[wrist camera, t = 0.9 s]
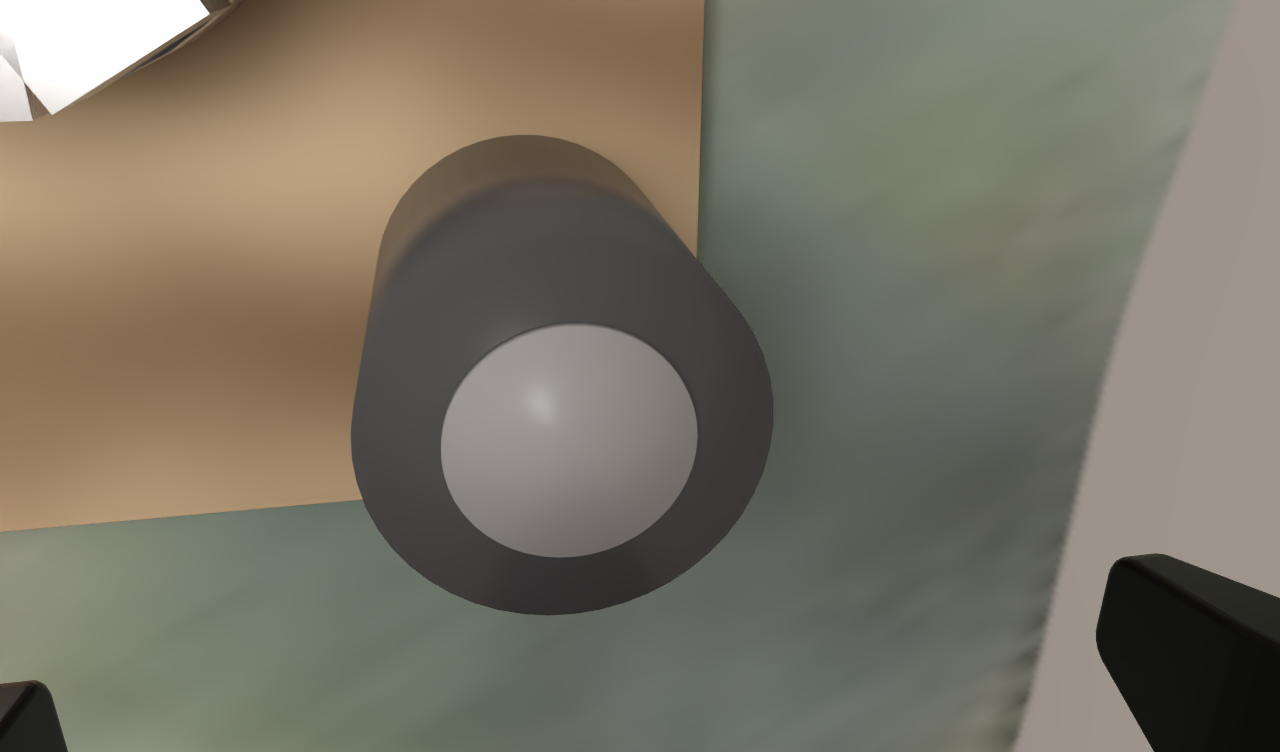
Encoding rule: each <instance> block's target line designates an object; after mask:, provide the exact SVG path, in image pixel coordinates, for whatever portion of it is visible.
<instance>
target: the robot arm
mask: <svg viewBox="0 0 1280 752" xmlns="http://www.w3.org/2000/svg"><path fill="white" fill-rule="evenodd" d="M1096 642H1097V647H1098V651H1099V654H1100V656H1101V659H1102V661H1103V663H1104V664H1105V666H1106V668H1107V670H1108V672H1109V673H1110V675H1111V677H1112V679H1113V680H1114V682H1115V684H1116V685H1117V687H1118V689H1119V691H1120V693H1121V694H1122V696H1123V698H1124V700H1125V701H1126V703H1127V705H1128V707H1129V708H1130V710H1131V712H1132V714H1133V715H1134V717H1135V719H1136V721H1137V723H1138V724H1139V726H1140V728H1141V729H1142V731H1143V733H1144V735H1145V737H1146V738H1147V740H1148V742H1149V744H1150V745H1151V747H1152V749H1153V751H1154V752H1280V598H1278V597H1276V596H1273V595H1270V594H1268V593H1265V592H1263V591H1260V590H1257V589H1254V588H1252V587H1249V586H1247V585H1244V584H1241V583H1239V582H1236V581H1233V580H1231V579H1228V578H1226V577H1223V576H1220V575H1218V574H1215V573H1212V572H1210V571H1207V570H1204V569H1202V568H1199V567H1197V566H1194V565H1191V564H1189V563H1186V562H1184V561H1181V560H1178V559H1175V558H1173V557H1170V556H1168V555H1164V554H1147V555H1138V556H1129V557H1123V558H1121V559H1119V560H1117V561H1116V562H1115V563H1114V564H1113V566H1112V567H1111V569H1110V572H1109V575H1108V580H1107V584H1106V588H1105V593H1104V597H1103V602H1102V606H1101V611H1100V615H1099V619H1098V623H1097V629H1096ZM0 752H68V750H67V746H66V743H65V740H64V736H63V733H62V729H61V726H60V722H59V719H58V715H57V712H56V709H55V705H54V702H53V698H52V696H51V693H50V691H49V689H48V688H47V687H46V685H45V684H43V683H41V682H39V681H37V680H31V681H22V682H13V683H4V684H0Z"/></svg>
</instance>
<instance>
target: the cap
mask: <svg viewBox="0 0 1280 752" xmlns="http://www.w3.org/2000/svg"><path fill="white" fill-rule="evenodd" d="M772 428H773V397H772V390H771V383H770V376H769V373H768V370H767V366H766V363H765V360H764V356H763V353H762V351H761V349H760V346H759V344H758V342H757V340H756V338H755V336H754V334H753V331H752V330H751V328H750V327H749V325H748V324H747V322H746V321H745V319H744V318H743V316H742V315H741V313H740V312H739V310H738V309H737V307H736V306H735V305H734V304H733V303H732V301H731V300H730V299H729V298H728V296H727V295H726V294H725V293H724V292H723V290H722V289H721V288H720V287H719V285H718V284H717V283H716V282H715V281H714V279H713V278H712V277H711V276H710V274H709V273H708V272H707V271H706V269H705V268H704V267H703V266H702V265H701V263H700V262H699V261H698V260H697V258H696V257H695V256H694V255H693V254H692V252H691V251H690V250H689V249H688V247H687V246H686V245H685V244H684V242H683V241H682V240H681V239H680V238H679V236H678V235H677V234H676V233H675V231H674V230H673V229H672V228H671V227H670V225H669V224H668V223H667V222H666V220H665V219H664V218H663V217H662V216H661V214H660V213H659V212H658V211H657V209H656V208H655V207H654V206H653V204H652V203H651V202H650V201H649V200H648V198H647V197H646V196H645V195H644V193H643V192H642V191H641V190H640V189H639V188H638V186H637V185H636V184H635V183H634V182H633V181H632V180H631V179H630V177H629V176H628V175H627V174H625V173H624V172H623V171H622V170H621V169H619V168H618V167H617V166H616V165H615V164H614V163H612V162H611V161H609V160H607V159H606V158H604V157H603V156H601V155H600V154H598V153H596V152H594V151H592V150H590V149H588V148H586V147H583V146H581V145H579V144H576V143H573V142H569V141H566V140H563V139H559V138H553V137H547V136H542V135H511V136H500V137H496V138H492V139H487V140H483V141H479V142H477V143H474V144H471V145H469V146H466V147H463V148H461V149H459V150H457V151H455V152H453V153H452V154H450V155H448V156H446V157H444V158H443V159H441V160H440V161H439V162H437V163H436V164H434V165H433V166H432V167H430V168H429V169H427V170H426V171H425V172H424V173H423V174H422V175H421V176H420V177H419V178H418V179H417V180H416V181H415V182H414V183H413V184H412V185H411V186H410V188H409V189H408V190H407V192H406V193H405V194H404V195H403V197H402V198H401V199H400V201H399V203H398V204H397V206H396V208H395V209H394V211H393V213H392V214H391V216H390V219H389V221H388V224H387V226H386V228H385V231H384V233H383V237H382V241H381V245H380V249H379V253H378V259H377V265H376V271H375V277H374V283H373V290H372V296H371V302H370V308H369V314H368V320H367V326H366V332H365V338H364V344H363V350H362V356H361V362H360V369H359V375H358V381H357V387H356V393H355V399H354V405H353V414H352V423H351V453H352V462H353V467H354V472H355V477H356V482H357V485H358V488H359V491H360V493H361V496H362V499H363V501H364V504H365V507H366V509H367V510H368V512H369V514H370V516H371V518H372V520H373V521H374V523H375V525H376V527H377V529H378V530H379V531H380V533H381V534H382V535H383V537H384V538H385V539H386V541H387V542H388V543H389V545H390V546H391V547H392V548H393V549H394V550H395V551H396V552H397V553H398V554H399V555H400V556H401V557H402V558H403V559H404V560H405V561H406V562H407V563H408V564H409V565H410V566H411V567H412V568H413V569H415V570H416V571H417V572H419V573H420V574H421V575H423V576H424V577H425V578H427V579H428V580H429V581H431V582H433V583H434V584H436V585H438V586H439V587H441V588H443V589H445V590H446V591H448V592H450V593H452V594H454V595H457V596H459V597H461V598H464V599H466V600H469V601H471V602H473V603H476V604H480V605H483V606H487V607H490V608H494V609H497V610H503V611H509V612H515V613H521V614H535V615H561V614H576V613H582V612H588V611H594V610H600V609H603V608H607V607H611V606H614V605H618V604H621V603H625V602H627V601H630V600H632V599H635V598H637V597H640V596H642V595H645V594H648V593H649V592H651V591H653V590H655V589H657V588H659V587H661V586H663V585H665V584H667V583H669V582H670V581H672V580H673V579H675V578H676V577H678V576H679V575H681V574H682V573H684V572H685V571H687V570H688V569H690V568H691V567H692V566H694V565H695V564H696V563H697V562H698V561H700V560H701V559H702V558H703V557H704V556H706V555H707V554H708V553H709V552H710V551H711V550H712V549H713V548H714V547H715V546H716V545H717V544H718V543H719V542H720V541H721V540H722V539H723V538H724V537H725V535H726V534H727V533H728V532H729V531H730V529H731V528H732V527H733V525H734V524H735V523H736V521H737V520H738V519H739V517H740V516H741V515H742V513H743V511H744V510H745V508H746V506H747V504H748V503H749V501H750V499H751V497H752V496H753V494H754V492H755V490H756V487H757V485H758V482H759V480H760V478H761V475H762V473H763V470H764V467H765V463H766V460H767V456H768V452H769V449H770V443H771V435H772Z"/></svg>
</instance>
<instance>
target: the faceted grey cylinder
mask: <svg viewBox="0 0 1280 752" xmlns="http://www.w3.org/2000/svg"><path fill="white" fill-rule="evenodd" d="M242 1H243V0H0V122H6V121H34V120H36V119H38V118H40V117H42V116H44V115H46V114H48V113H51V114H52V115H54V114H56V113H58V112H60V111H62V110H64V109H66V108H68V107H70V106H72V105H74V104H77V103H79V102H81V101H83V100H85V99H87V98H89V97H91V96H93V95H94V94H96V93H97V92H99V91H100V90H102V89H104V88H105V87H107V86H108V85H110V84H111V83H113V82H114V81H116V80H118V79H119V78H121V77H124V76H126V75H128V74H130V73H132V72H135V71H137V70H139V69H141V68H143V67H145V66H147V65H150V64H152V63H154V62H156V61H158V60H160V59H162V58H164V57H166V56H168V55H170V54H171V53H173V52H175V51H177V50H179V49H181V48H182V47H184V46H186V45H188V44H190V43H192V42H193V41H195V40H197V39H198V38H200V37H201V36H202V35H204V34H205V33H206V32H208V31H209V30H210V29H212V28H213V27H214V26H216V25H217V24H218V23H220V22H221V21H222V20H224V19H225V18H226V17H227V16H229V15H230V14H231V13H232V12H233V11H234V10H235V9H236V8H237V7H238V6H239V5H240V4H241V3H242Z"/></svg>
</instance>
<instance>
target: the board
mask: <svg viewBox="0 0 1280 752" xmlns="http://www.w3.org/2000/svg"><path fill="white" fill-rule="evenodd" d="M704 1H705V0H243V1H242V3H241V4H240V5H239V6H238V7H237V8H236V9H235V10H234V11H233V12H232V13H231V14H230V15H229V16H227V17H226V18H225V19H224V20H222V21H221V22H220V23H218V24H217V25H216V26H214V27H213V28H212V29H210V30H209V31H208V32H206V33H205V34H204V35H202V36H201V37H200V38H198V39H197V40H195V41H193V42H192V43H190V44H188V45H186V46H184V47H182V48H181V49H179V50H177V51H175V52H173V53H171V54H170V55H168V56H166V57H164V58H162V59H160V60H158V61H156V62H154V63H152V64H150V65H147V66H145V67H143V68H141V69H139V70H137V71H135V72H132V73H130V74H128V75H126V76H124V77H121V78H119V79H118V80H116V81H114V82H113V83H111V84H110V85H108V86H107V87H105V88H104V89H102V90H100V91H99V92H97V93H96V94H94V95H93V96H91V97H89V98H87V99H85V100H83V101H81V102H79V103H77V104H74V105H72V106H70V107H68V108H66V109H64V110H62V111H60V112H58V113H56V114H54V115H52V114H51V113H48V114H46V115H44V116H42V117H40V118H38V119H36V120H34V121H6V122H0V532H3V531H15V530H26V529H37V528H48V527H60V526H71V525H82V524H94V523H105V522H116V521H127V520H139V519H150V518H161V517H172V516H184V515H195V514H206V513H217V512H229V511H240V510H251V509H262V508H274V507H285V506H296V505H307V504H319V503H330V502H341V501H352V500H363V499H362V496H361V493H360V491H359V488H358V485H357V482H356V477H355V472H354V467H353V462H352V453H351V423H352V414H353V405H354V399H355V393H356V387H357V381H358V375H359V369H360V362H361V356H362V350H363V344H364V338H365V332H366V326H367V320H368V314H369V308H370V302H371V296H372V290H373V283H374V277H375V271H376V265H377V259H378V253H379V249H380V245H381V241H382V237H383V233H384V231H385V228H386V226H387V224H388V221H389V219H390V216H391V214H392V213H393V211H394V209H395V208H396V206H397V204H398V203H399V201H400V199H401V198H402V197H403V195H404V194H405V193H406V192H407V190H408V189H409V188H410V186H411V185H412V184H413V183H414V182H415V181H416V180H417V179H418V178H419V177H420V176H421V175H422V174H423V173H424V172H425V171H426V170H427V169H429V168H430V167H432V166H433V165H434V164H436V163H437V162H439V161H440V160H441V159H443V158H444V157H446V156H448V155H450V154H452V153H453V152H455V151H457V150H459V149H461V148H463V147H466V146H469V145H471V144H474V143H477V142H479V141H483V140H487V139H492V138H496V137H500V136H511V135H542V136H547V137H553V138H559V139H563V140H566V141H569V142H573V143H576V144H579V145H581V146H583V147H586V148H588V149H590V150H592V151H594V152H596V153H598V154H600V155H601V156H603V157H604V158H606V159H607V160H609V161H611V162H612V163H614V164H615V165H616V166H617V167H618V168H619V169H621V170H622V171H623V172H624V173H625V174H627V175H628V176H629V177H630V179H631V180H632V181H633V182H634V183H635V184H636V185H637V186H638V188H639V189H640V190H641V191H642V192H643V193H644V195H645V196H646V197H647V198H648V200H649V201H650V202H651V203H652V204H653V206H654V207H655V208H656V209H657V211H658V212H659V213H660V214H661V216H662V217H663V218H664V219H665V220H666V222H667V223H668V224H669V225H670V227H671V228H672V229H673V230H674V231H675V233H676V234H677V235H678V236H679V238H680V239H681V240H682V241H683V242H684V244H685V245H686V246H687V247H688V249H689V250H690V251H691V252H692V254H693V255H694V256H695V257H696V258H697V233H698V200H699V167H700V133H701V100H702V67H703V34H704Z"/></svg>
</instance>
